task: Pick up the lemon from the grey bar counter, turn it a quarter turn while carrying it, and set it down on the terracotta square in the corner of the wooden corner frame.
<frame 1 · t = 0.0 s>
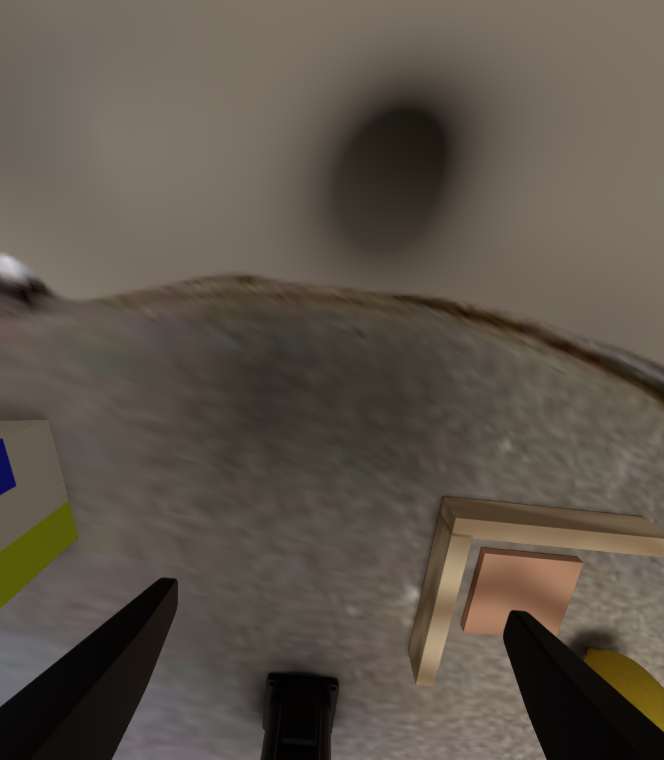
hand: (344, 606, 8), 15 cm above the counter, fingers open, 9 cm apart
lemon: (587, 647, 28), on the counter
wooden corner frame: (518, 587, 26), on the counter
puzzle toy: (2, 480, 24), on the counter
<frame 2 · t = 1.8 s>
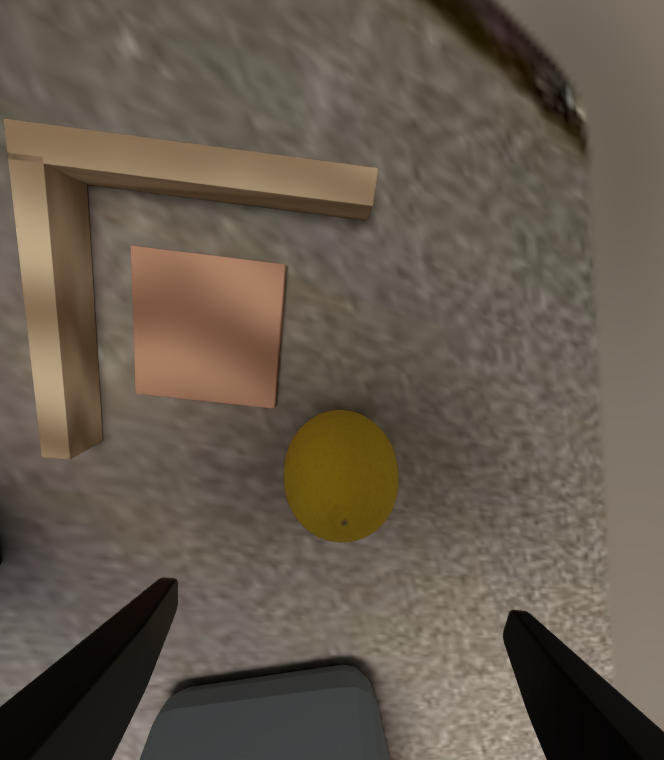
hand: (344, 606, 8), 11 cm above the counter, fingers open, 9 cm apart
lemon: (338, 434, 20), on the counter
wooden corner frame: (211, 322, 18), on the counter
dark grey boxy piece: (287, 733, 26), on the counter
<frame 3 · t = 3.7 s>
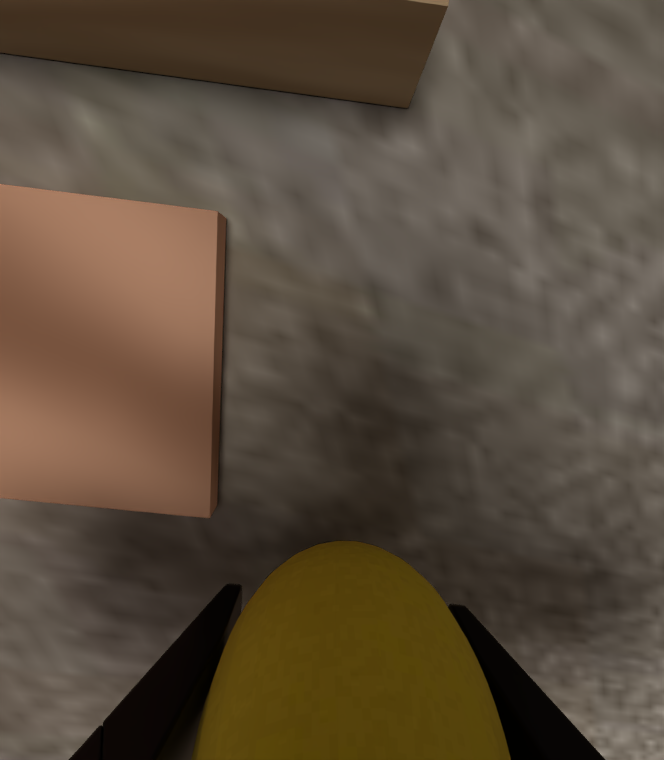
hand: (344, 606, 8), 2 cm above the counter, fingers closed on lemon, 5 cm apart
lemon: (342, 553, 10), on the counter, touching gripper
wooden corner frame: (70, 342, 8), on the counter
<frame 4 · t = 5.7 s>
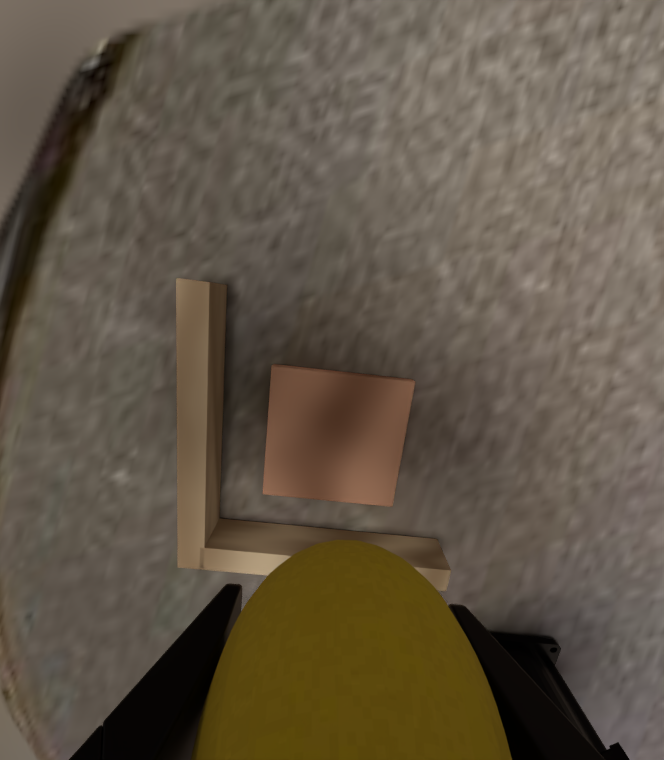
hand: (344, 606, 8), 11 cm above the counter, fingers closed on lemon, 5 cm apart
lemon: (342, 552, 10), point 9 cm above the counter, touching gripper
wooden corner frame: (327, 435, 19), on the counter
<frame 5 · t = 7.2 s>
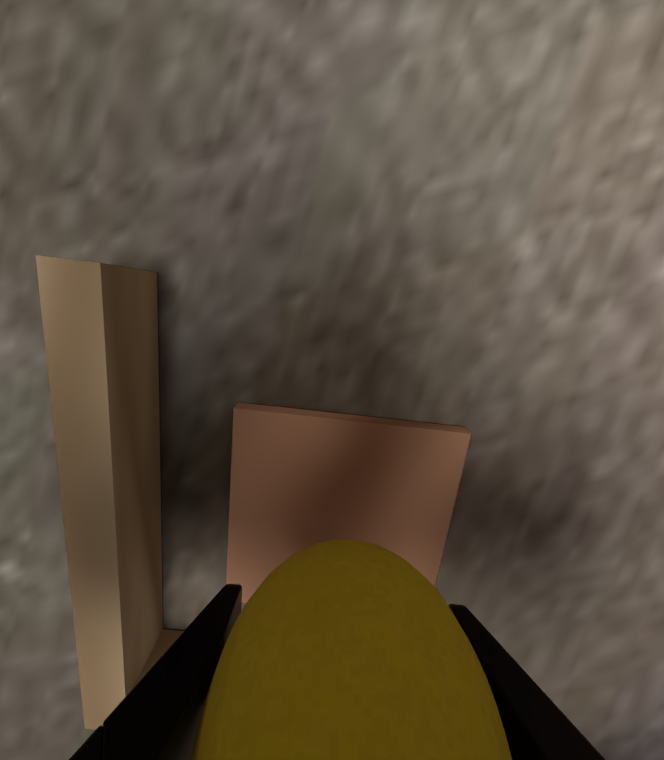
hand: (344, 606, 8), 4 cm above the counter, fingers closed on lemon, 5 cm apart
lemon: (342, 552, 10), point 2 cm above the counter, touching gripper
wooden corner frame: (326, 511, 12), on the counter
when the fingers open (4 cm above the counter, at t = 7.7 s): lemon drops 1 cm, resting on wooden corner frame.
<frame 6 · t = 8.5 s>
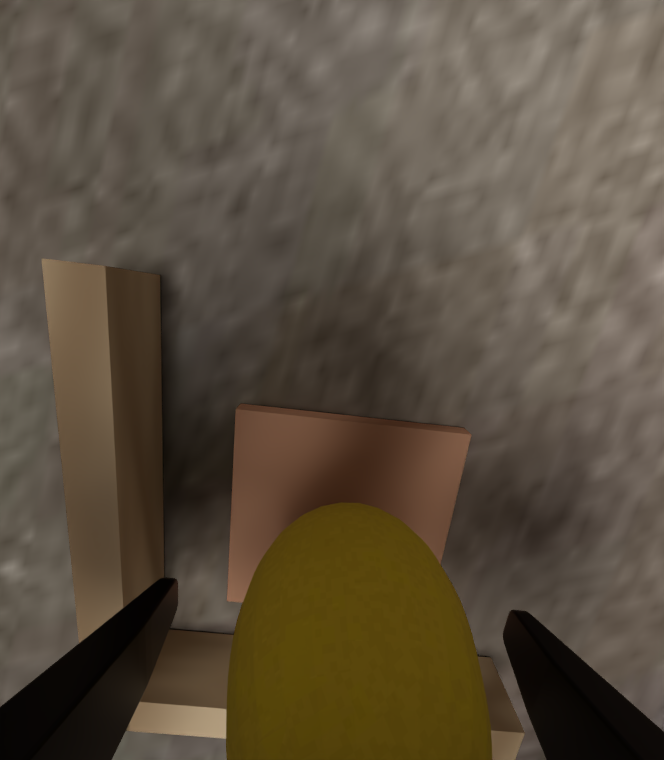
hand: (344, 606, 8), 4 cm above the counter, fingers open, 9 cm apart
lemon: (343, 521, 12), resting on wooden corner frame
wooden corner frame: (327, 511, 12), on the counter
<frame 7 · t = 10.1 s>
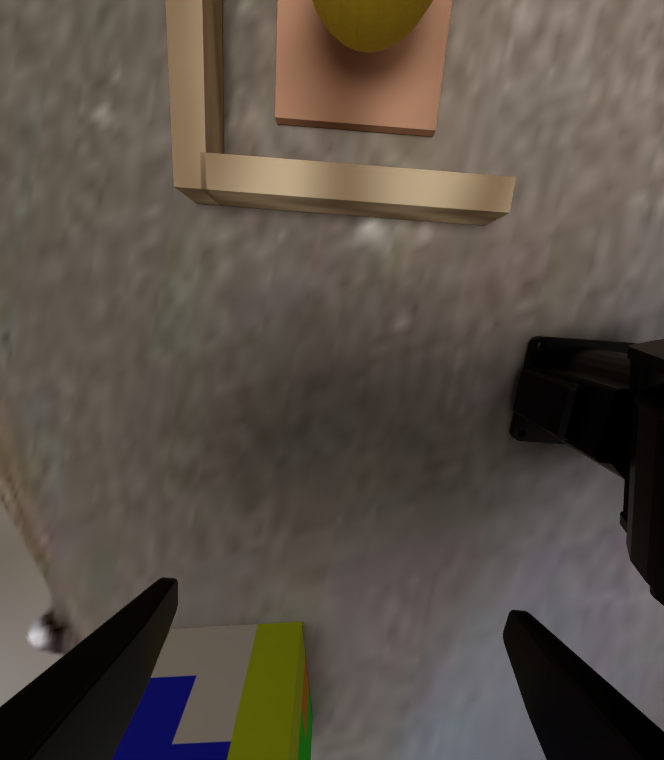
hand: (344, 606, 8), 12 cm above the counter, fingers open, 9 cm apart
lemon: (365, 28, 15), resting on wooden corner frame
wooden corner frame: (351, 34, 15), on the counter
puzzle toy: (246, 670, 25), on the counter
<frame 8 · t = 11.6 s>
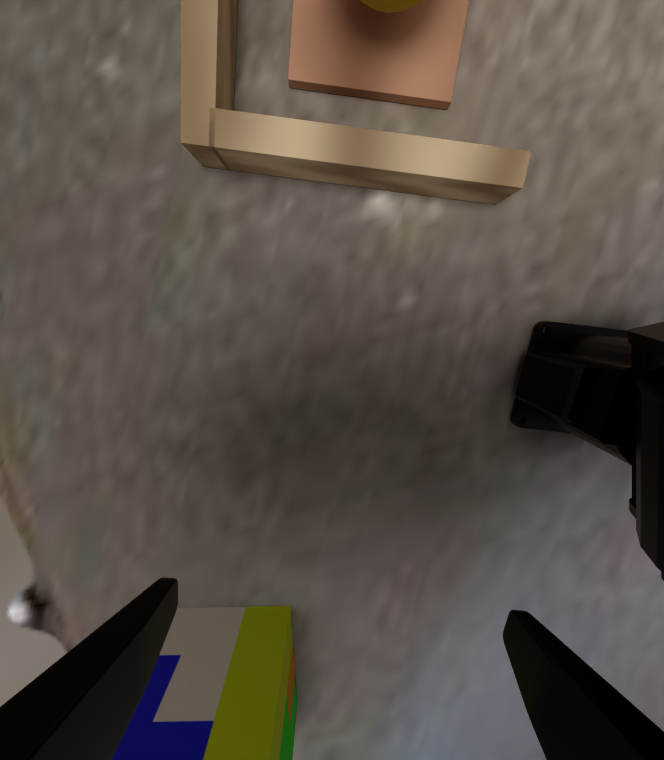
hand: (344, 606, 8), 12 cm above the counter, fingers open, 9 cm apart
puzzle toy: (231, 654, 25), on the counter
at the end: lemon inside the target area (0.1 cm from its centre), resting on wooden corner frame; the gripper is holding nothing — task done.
